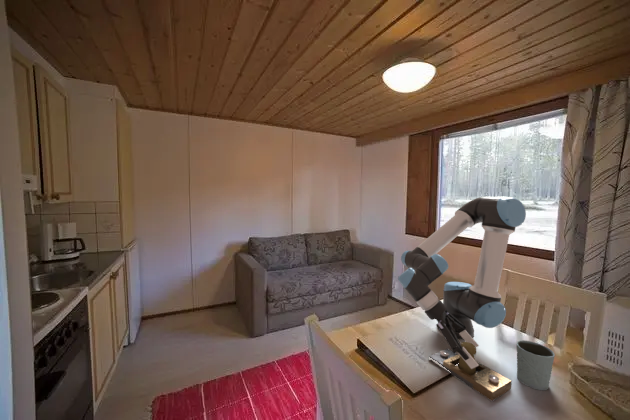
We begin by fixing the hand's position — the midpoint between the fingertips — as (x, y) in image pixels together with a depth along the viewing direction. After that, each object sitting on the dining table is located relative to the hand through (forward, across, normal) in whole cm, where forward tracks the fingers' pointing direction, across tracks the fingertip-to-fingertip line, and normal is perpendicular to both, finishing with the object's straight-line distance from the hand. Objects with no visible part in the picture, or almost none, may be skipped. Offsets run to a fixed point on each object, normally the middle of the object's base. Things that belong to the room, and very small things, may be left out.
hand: (475, 356), depth 93 cm
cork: (+4, 0, -7) cm, 8 cm away
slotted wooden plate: (+3, 0, -7) cm, 8 cm away
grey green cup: (+18, -8, +7) cm, 21 cm away
